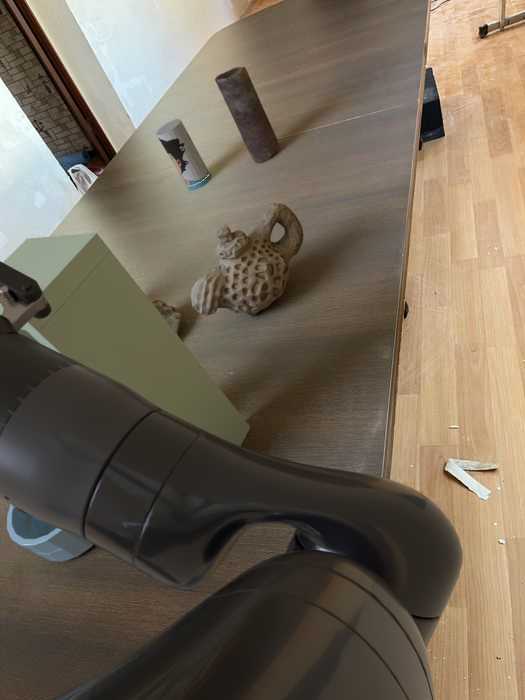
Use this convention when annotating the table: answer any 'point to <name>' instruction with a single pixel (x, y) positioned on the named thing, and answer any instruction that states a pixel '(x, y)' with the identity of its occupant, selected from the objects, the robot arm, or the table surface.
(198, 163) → the grey printed cylinder
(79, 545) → the bowl
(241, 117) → the dark brown cylinder
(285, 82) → the table surface
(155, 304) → the decorative stone
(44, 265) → the stand
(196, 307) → the teapot
